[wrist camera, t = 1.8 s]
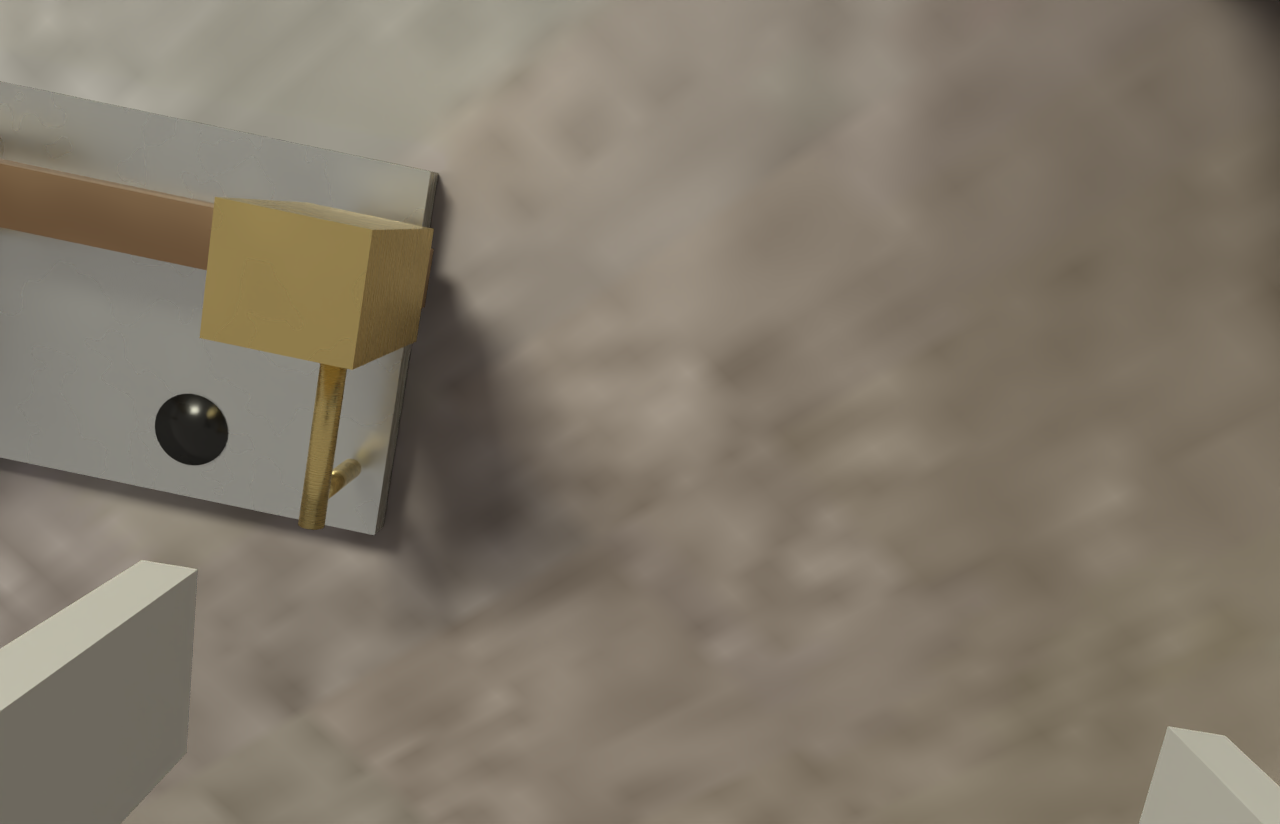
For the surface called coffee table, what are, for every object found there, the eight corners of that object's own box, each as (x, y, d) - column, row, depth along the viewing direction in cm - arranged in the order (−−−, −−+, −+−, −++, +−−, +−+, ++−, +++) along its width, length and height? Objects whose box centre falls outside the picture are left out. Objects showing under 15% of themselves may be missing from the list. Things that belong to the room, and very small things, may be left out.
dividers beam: (-175, 97, 31) (-458, 55, 24) (437, 225, 31) (358, 225, 24) (-182, 378, 33) (-446, 426, 25) (394, 499, 33) (308, 582, 26)
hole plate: (-162, 47, 32) (-190, 41, 31) (438, 172, 32) (430, 171, 31) (-172, 410, 35) (-198, 416, 34) (383, 526, 35) (373, 535, 34)
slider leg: (328, 203, 31) (214, 196, 23) (447, 228, 31) (372, 229, 23) (291, 483, 33) (175, 562, 25) (403, 506, 33) (320, 592, 25)
